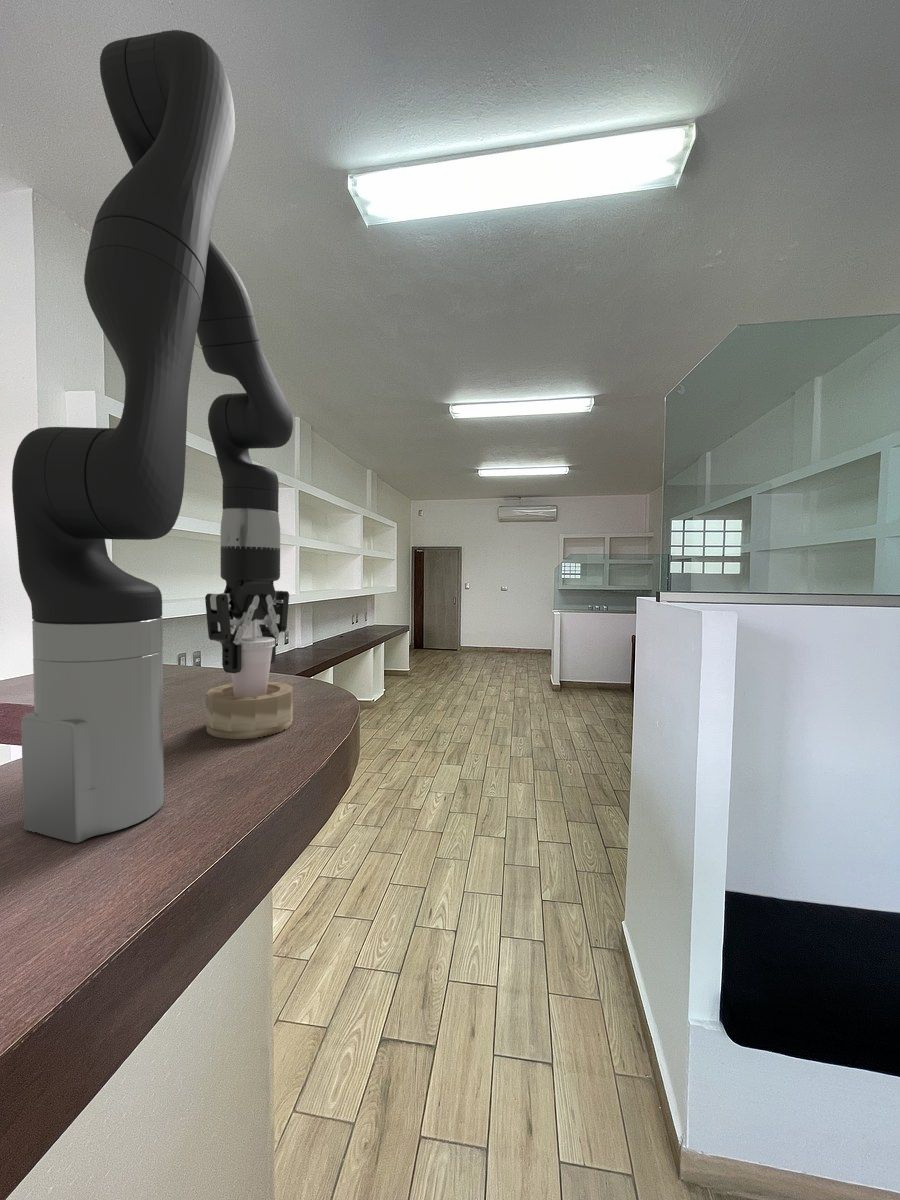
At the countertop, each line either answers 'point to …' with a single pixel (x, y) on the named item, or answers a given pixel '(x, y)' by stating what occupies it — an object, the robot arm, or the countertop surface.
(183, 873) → the countertop surface
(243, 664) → the smoothie
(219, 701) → the ring
